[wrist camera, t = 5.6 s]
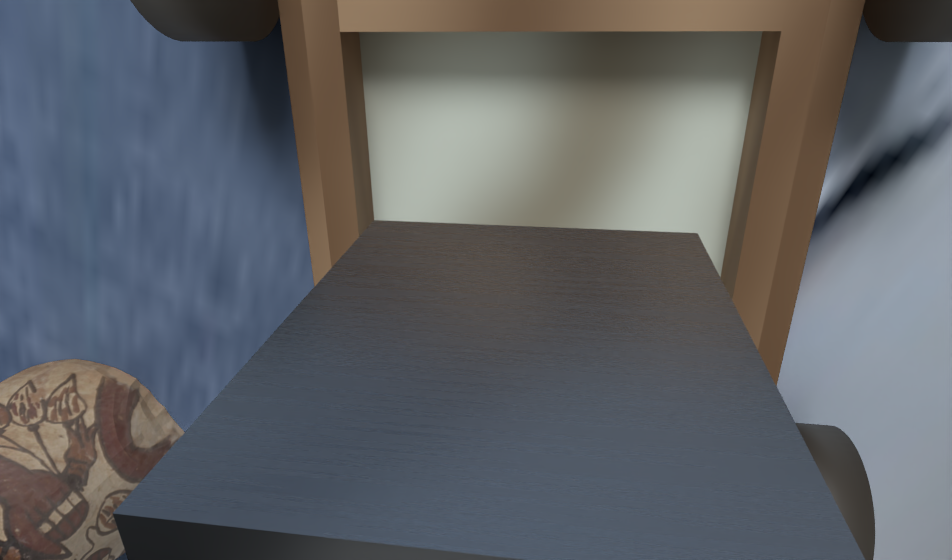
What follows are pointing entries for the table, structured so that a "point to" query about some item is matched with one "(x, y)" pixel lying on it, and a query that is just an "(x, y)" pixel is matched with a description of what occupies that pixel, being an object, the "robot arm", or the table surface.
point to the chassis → (581, 129)
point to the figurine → (74, 457)
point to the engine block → (497, 415)
